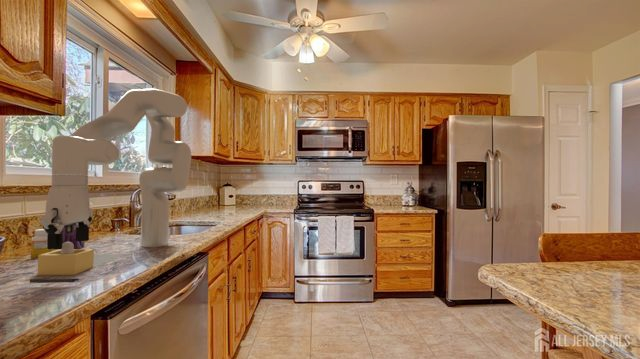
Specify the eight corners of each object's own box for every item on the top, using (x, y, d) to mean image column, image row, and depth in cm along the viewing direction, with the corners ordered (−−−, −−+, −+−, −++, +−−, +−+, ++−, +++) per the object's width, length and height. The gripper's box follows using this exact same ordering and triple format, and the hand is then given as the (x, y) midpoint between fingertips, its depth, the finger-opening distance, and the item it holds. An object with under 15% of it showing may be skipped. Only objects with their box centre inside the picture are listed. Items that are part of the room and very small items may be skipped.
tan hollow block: (59, 267, 82) (59, 249, 82) (93, 266, 83) (93, 249, 83) (37, 274, 75) (38, 255, 75) (74, 274, 76) (75, 255, 76)
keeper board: (94, 258, 97) (95, 230, 97) (125, 258, 98) (126, 230, 98) (29, 282, 73) (31, 245, 74) (72, 282, 74) (73, 245, 74)
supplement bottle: (36, 257, 97) (37, 228, 97) (56, 256, 99) (57, 227, 99) (26, 261, 92) (27, 230, 92) (48, 260, 94) (49, 230, 94)
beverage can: (72, 254, 102) (73, 220, 102) (52, 254, 102) (54, 219, 103) (89, 250, 109) (90, 218, 110) (70, 249, 109) (71, 217, 110)
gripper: (78, 181, 88) (77, 238, 88) (26, 182, 70) (25, 252, 71) (105, 181, 88) (104, 238, 88) (60, 182, 71) (58, 252, 71)
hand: (69, 244), depth 79 cm, fingers open, 9 cm apart
